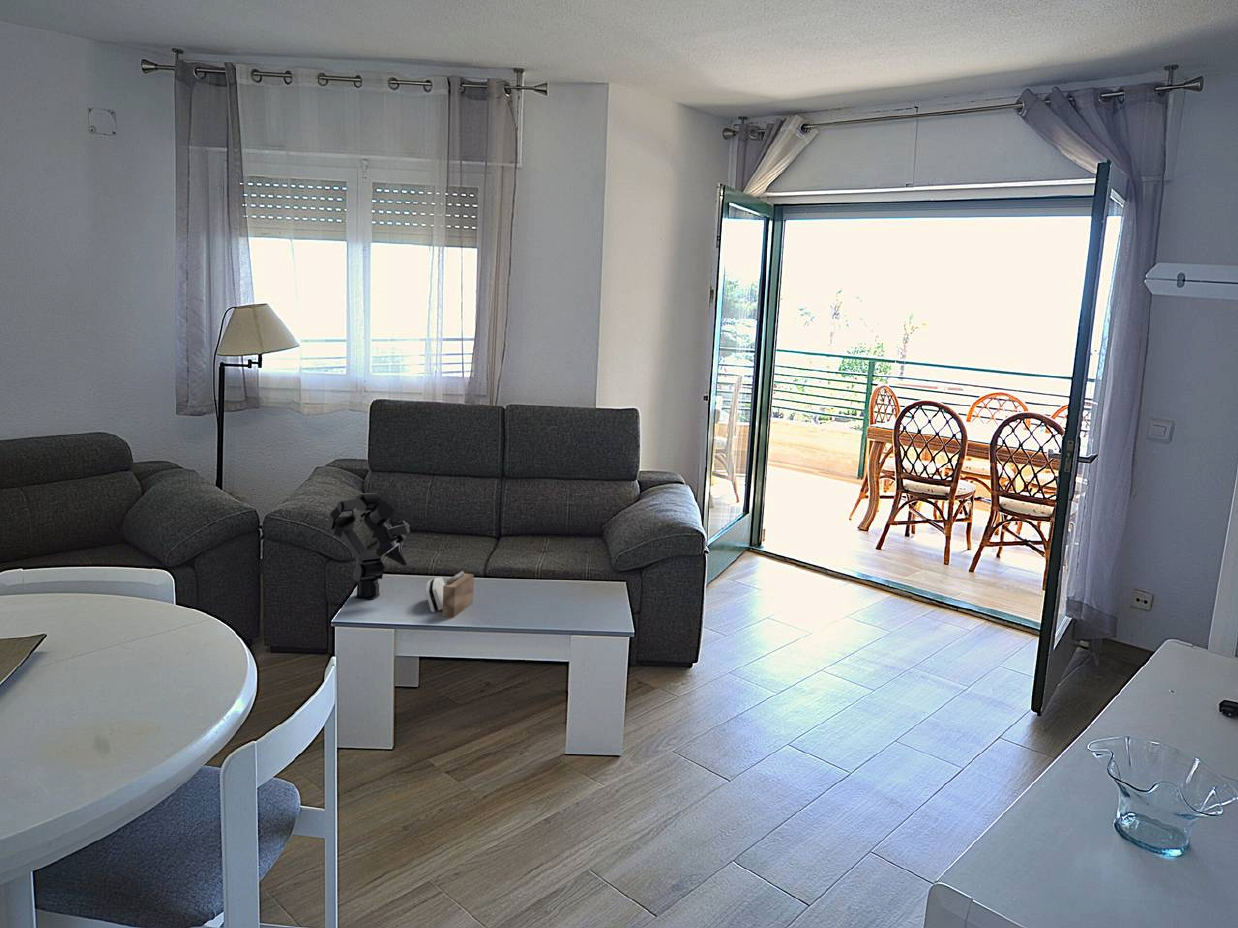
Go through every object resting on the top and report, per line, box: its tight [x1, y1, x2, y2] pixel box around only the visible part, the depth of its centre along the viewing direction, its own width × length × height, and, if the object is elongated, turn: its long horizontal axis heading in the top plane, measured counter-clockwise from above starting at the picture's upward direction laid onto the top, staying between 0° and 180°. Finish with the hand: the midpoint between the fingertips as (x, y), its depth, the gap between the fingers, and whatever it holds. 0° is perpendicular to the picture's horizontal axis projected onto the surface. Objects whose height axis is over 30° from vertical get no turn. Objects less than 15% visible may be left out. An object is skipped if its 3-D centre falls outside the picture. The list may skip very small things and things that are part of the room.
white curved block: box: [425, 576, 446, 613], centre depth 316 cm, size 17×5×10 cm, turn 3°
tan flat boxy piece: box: [441, 570, 475, 618], centre depth 312 cm, size 4×17×11 cm, turn 168°
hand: (405, 564), depth 316 cm, fingers closed
